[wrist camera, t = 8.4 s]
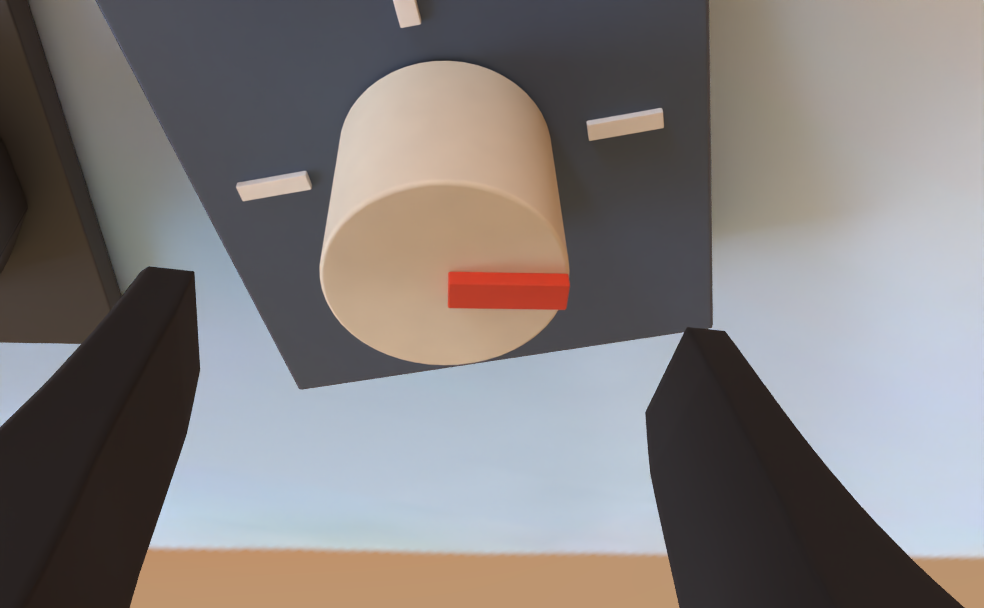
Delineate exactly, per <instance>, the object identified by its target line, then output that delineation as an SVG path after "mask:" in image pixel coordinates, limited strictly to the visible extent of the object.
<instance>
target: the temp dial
mask: <svg viewBox="0 0 984 608" xmlns="http://www.w3.org/2000/svg"><path fill="white" fill-rule="evenodd" d="M569 271H570V270H569V261H568V253H567V247H566V240H565V233H564V226H563V219H562V213H561V206H560V199H559V192H558V186H557V179H556V172H555V165H554V158H553V152H552V145H551V138H550V134H549V130H548V127H547V124H546V122H545V119H544V117H543V115H542V113H541V112H540V110H539V109H538V107H537V105H536V104H535V103H534V101H533V100H532V99H531V98H530V97H529V96H528V95H527V93H526V92H524V91H523V90H522V89H521V88H520V87H519V86H517V85H516V84H515V83H513V82H512V81H510V80H509V79H507V78H506V77H504V76H502V75H500V74H498V73H496V72H494V71H492V70H490V69H487V68H484V67H481V66H478V65H474V64H470V63H465V62H457V61H430V62H424V63H418V64H414V65H410V66H407V67H404V68H401V69H399V70H396V71H394V72H392V73H390V74H388V75H386V76H385V77H383V78H381V79H379V80H378V81H377V82H375V83H374V84H373V85H371V86H370V87H369V88H368V89H367V90H366V91H365V92H364V93H363V94H362V95H361V96H360V97H359V98H358V99H357V100H356V102H355V103H354V105H353V106H352V107H351V109H350V111H349V113H348V115H347V117H346V119H345V121H344V124H343V127H342V130H341V136H340V142H339V148H338V154H337V160H336V167H335V173H334V179H333V185H332V191H331V198H330V204H329V210H328V216H327V222H326V228H325V235H324V241H323V247H322V253H321V259H320V282H321V287H322V291H323V294H324V296H325V299H326V301H327V304H328V305H329V307H330V309H331V310H332V312H333V314H334V315H335V317H336V318H337V319H338V320H339V322H340V323H341V324H342V325H343V326H344V327H345V328H346V329H347V330H348V331H349V332H350V333H351V334H352V335H354V336H355V337H356V338H358V339H359V340H360V341H362V342H363V343H365V344H367V345H369V346H370V347H372V348H374V349H376V350H378V351H380V352H382V353H385V354H387V355H390V356H393V357H396V358H399V359H402V360H406V361H411V362H415V363H422V364H430V365H460V364H468V363H475V362H479V361H484V360H488V359H491V358H494V357H498V356H501V355H503V354H505V353H508V352H510V351H512V350H514V349H516V348H518V347H520V346H522V345H523V344H525V343H527V342H528V341H529V340H531V339H532V338H534V337H535V336H536V335H537V334H539V333H540V332H541V331H542V330H543V329H544V328H545V327H546V326H547V325H548V324H549V322H550V321H551V320H552V319H553V318H554V316H555V315H556V313H557V311H558V310H566V308H567V302H568V296H569V289H570V281H569Z"/></svg>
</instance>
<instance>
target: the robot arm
mask: <svg viewBox="0 0 984 608" xmlns="http://www.w3.org/2000/svg"><path fill="white" fill-rule="evenodd" d="M199 373H200V360H199V343H198V326H197V309H196V292H195V276H194V271H185V270H176V269H167V268H158V267H150V266H149V267H147V268H145V269H144V270H142V271H141V272H140V273H139V275H138V276H137V277H136V279H135V280H134V281H133V283H132V284H131V285H130V286H129V288H128V289H127V290H126V292H125V293H124V294H123V295H122V297H121V298H120V299H119V300H118V302H117V303H116V304H115V305H114V307H113V308H112V309H111V310H110V312H109V313H108V314H107V315H106V316H105V318H104V319H103V320H102V321H101V322H100V323H99V325H98V326H97V327H96V328H95V329H94V330H93V332H92V333H91V334H90V335H89V336H88V337H87V339H86V340H85V341H84V342H83V343H82V344H81V345H80V346H79V347H78V348H77V349H76V351H75V352H74V353H73V354H72V355H71V356H70V357H69V358H68V359H67V360H66V361H65V363H64V364H63V365H62V366H61V367H60V368H59V369H58V370H57V371H56V372H55V373H54V375H53V376H52V377H51V378H50V379H49V380H48V381H47V382H46V383H45V384H44V385H43V386H42V387H41V388H40V389H39V390H38V391H37V392H36V393H35V394H34V395H33V396H32V397H31V398H30V399H29V400H28V401H27V402H26V403H25V404H24V405H22V406H21V407H20V408H19V409H18V410H17V411H16V412H15V413H14V414H13V415H12V416H11V417H10V418H9V419H8V420H7V421H6V422H5V423H4V424H3V425H2V426H1V427H0V608H130V604H131V600H132V597H133V594H134V590H135V587H136V584H137V580H138V576H139V573H140V570H141V567H142V564H143V562H144V559H145V555H146V553H147V550H148V547H149V544H150V541H151V538H152V535H153V532H154V529H155V526H156V523H157V521H158V518H159V515H160V512H161V509H162V506H163V503H164V500H165V497H166V494H167V491H168V488H169V485H170V482H171V479H172V476H173V474H174V471H175V468H176V465H177V462H178V459H179V456H180V453H181V450H182V447H183V444H184V441H185V437H186V434H187V430H188V425H189V421H190V416H191V412H192V407H193V402H194V397H195V392H196V387H197V382H198V377H199ZM645 414H646V428H647V443H648V454H649V464H650V474H651V479H652V484H653V489H654V493H655V498H656V503H657V508H658V512H659V517H660V522H661V526H662V531H663V535H664V540H665V544H666V549H667V553H668V558H669V562H670V567H671V571H672V576H673V580H674V584H675V589H676V594H677V598H678V603H679V607H680V608H964V607H963V606H962V605H961V604H960V603H959V602H957V601H956V600H955V599H954V598H953V597H952V596H951V595H950V594H948V593H947V592H946V591H945V590H944V589H943V588H942V587H941V586H940V585H938V584H937V583H936V582H935V581H934V580H933V579H932V578H931V577H930V576H929V575H927V573H926V572H924V570H922V569H921V568H920V567H919V566H918V565H917V564H916V563H915V562H914V561H913V560H912V559H911V558H910V557H909V556H908V555H907V554H906V553H905V552H904V551H903V550H902V549H901V548H900V547H899V546H898V545H897V544H896V543H895V542H894V541H893V540H892V539H891V538H890V536H889V535H888V534H887V533H886V532H885V531H884V530H883V529H882V528H881V527H880V526H879V525H878V524H877V523H876V522H875V521H874V520H873V519H872V518H871V517H870V516H869V514H868V513H867V512H866V511H865V510H864V509H863V508H862V507H861V506H860V505H859V503H858V502H857V501H856V500H855V499H854V498H853V496H852V495H851V494H850V493H849V492H848V491H847V489H846V488H845V487H844V486H843V485H842V484H841V482H840V481H839V480H838V479H837V478H836V477H835V476H834V474H833V473H832V472H831V471H830V470H829V468H828V467H827V466H826V465H825V463H824V462H823V461H822V460H821V459H820V457H819V456H818V455H817V454H816V452H815V451H814V450H813V449H812V447H811V446H810V445H809V444H808V442H807V441H806V440H805V438H804V437H803V436H802V435H801V433H800V432H799V431H798V429H797V428H796V427H795V425H794V424H793V423H792V421H791V420H790V419H789V417H788V416H787V415H786V413H785V412H784V411H783V409H782V408H781V407H780V405H779V404H778V403H777V401H776V400H775V399H774V397H773V396H772V395H771V393H770V392H769V390H768V389H767V388H766V386H765V385H764V384H763V382H762V381H761V379H760V378H759V377H758V375H757V374H756V373H755V371H754V370H753V368H752V367H751V366H750V364H749V363H748V361H747V360H746V359H745V357H744V356H743V355H742V353H741V352H740V350H739V349H738V348H737V346H736V345H735V344H734V342H733V341H732V340H731V338H730V337H729V336H728V334H727V333H726V332H725V331H719V330H710V329H701V328H692V327H687V328H686V330H685V332H684V334H683V336H682V338H681V340H680V342H679V344H678V346H677V348H676V351H675V353H674V355H673V357H672V359H671V361H670V363H669V365H668V367H667V369H666V371H665V373H664V375H663V377H662V379H661V381H660V383H659V385H658V387H657V390H656V392H655V394H654V396H653V398H652V400H651V402H650V404H649V406H648V408H647V410H646V412H645Z"/></svg>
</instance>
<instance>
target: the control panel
mask: <svg viewBox="0 0 984 608" xmlns="http://www.w3.org/2000/svg"><path fill="white" fill-rule="evenodd" d="M96 2H97V4H98V6H99V8H100V10H101V12H102V14H103V15H104V17H105V19H106V21H107V23H108V25H109V27H110V29H111V31H112V33H113V35H114V36H115V38H116V40H117V42H118V44H119V46H120V48H121V50H122V52H123V54H124V56H125V57H126V59H127V61H128V63H129V65H130V67H131V69H132V71H133V73H134V75H135V77H136V78H137V80H138V82H139V84H140V86H141V88H142V90H143V92H144V94H145V96H146V98H147V99H148V101H149V103H150V105H151V107H152V109H153V111H154V113H155V115H156V117H157V119H158V120H159V122H160V124H161V126H162V128H163V130H164V132H165V134H166V136H167V138H168V140H169V141H170V143H171V145H172V147H173V149H174V151H175V153H176V155H177V157H178V159H179V161H180V162H181V164H182V166H183V168H184V170H185V172H186V174H187V176H188V178H189V180H190V182H191V183H192V185H193V187H194V189H195V191H196V193H197V195H198V197H199V199H200V201H201V203H202V204H203V206H204V208H205V210H206V212H207V214H208V216H209V218H210V220H211V222H212V224H213V225H214V227H215V229H216V231H217V233H218V235H219V237H220V239H221V241H222V243H223V245H224V246H225V248H226V250H227V252H228V254H229V256H230V258H231V260H232V262H233V264H234V266H235V267H236V269H237V271H238V273H239V275H240V277H241V279H242V281H243V283H244V285H245V287H246V289H247V290H248V292H249V294H250V296H251V298H252V300H253V302H254V304H255V306H256V308H257V310H258V311H259V313H260V315H261V317H262V319H263V321H264V323H265V325H266V327H267V329H268V331H269V332H270V334H271V336H272V338H273V340H274V342H275V344H276V346H277V348H278V350H279V352H280V353H281V355H282V357H283V359H284V361H285V363H286V365H287V367H288V369H289V371H290V373H291V374H292V376H293V378H294V380H295V382H296V384H297V386H298V388H299V389H308V388H315V387H322V386H328V385H335V384H342V383H348V382H355V381H362V380H368V379H375V378H382V377H388V376H395V375H402V374H408V373H415V372H422V371H428V370H435V369H442V368H448V367H455V366H462V365H468V364H475V363H482V362H488V361H495V360H502V359H508V358H515V357H522V356H528V355H535V354H542V353H548V352H555V351H562V350H568V349H575V348H581V347H588V346H595V345H601V344H608V343H615V342H621V341H628V340H635V339H641V338H648V337H655V336H661V335H668V334H675V333H681V332H685V330H686V328H687V327H692V328H701V329H708V328H711V327H712V325H713V300H712V216H711V133H710V49H709V0H96ZM430 61H457V62H465V63H470V64H474V65H478V66H481V67H484V68H487V69H490V70H492V71H494V72H496V73H498V74H500V75H502V76H504V77H506V78H507V79H509V80H510V81H512V82H513V83H515V84H516V85H517V86H519V87H520V88H521V89H522V90H523V91H524V92H526V93H527V95H528V96H529V97H530V98H531V99H532V100H533V101H534V103H535V104H536V105H537V107H538V109H539V110H540V112H541V113H542V115H543V117H544V119H545V122H546V124H547V127H548V130H549V134H550V138H551V145H552V152H553V158H554V165H555V172H556V179H557V186H558V192H559V199H560V206H561V213H562V219H563V226H564V233H565V240H566V247H567V253H568V261H569V270H570V271H569V281H570V289H569V296H568V302H567V308H566V310H558V311H557V313H556V315H555V316H554V318H553V319H552V320H551V321H550V322H549V324H548V325H547V326H546V327H545V328H544V329H543V330H542V331H541V332H540V333H539V334H537V335H536V336H535V337H534V338H532V339H531V340H529V341H528V342H527V343H525V344H523V345H522V346H520V347H518V348H516V349H514V350H512V351H510V352H508V353H505V354H503V355H501V356H498V357H494V358H491V359H488V360H484V361H479V362H475V363H468V364H460V365H430V364H422V363H415V362H411V361H406V360H402V359H399V358H396V357H393V356H390V355H387V354H385V353H382V352H380V351H378V350H376V349H374V348H372V347H370V346H369V345H367V344H365V343H363V342H362V341H360V340H359V339H358V338H356V337H355V336H354V335H352V334H351V333H350V332H349V331H348V330H347V329H346V328H345V327H344V326H343V325H342V324H341V323H340V322H339V320H338V319H337V318H336V317H335V315H334V314H333V312H332V310H331V309H330V307H329V305H328V304H327V301H326V299H325V296H324V294H323V291H322V287H321V282H320V259H321V253H322V247H323V241H324V235H325V228H326V222H327V216H328V210H329V204H330V198H331V191H332V185H333V179H334V173H335V167H336V160H337V154H338V148H339V142H340V136H341V130H342V127H343V124H344V121H345V119H346V117H347V115H348V113H349V111H350V109H351V107H352V106H353V105H354V103H355V102H356V100H357V99H358V98H359V97H360V96H361V95H362V94H363V93H364V92H365V91H366V90H367V89H368V88H369V87H370V86H371V85H373V84H374V83H375V82H377V81H378V80H379V79H381V78H383V77H385V76H386V75H388V74H390V73H392V72H394V71H396V70H399V69H401V68H404V67H407V66H410V65H414V64H418V63H424V62H430Z"/></svg>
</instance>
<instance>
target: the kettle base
mask: <svg viewBox="0 0 984 608" xmlns="http://www.w3.org/2000/svg"><path fill="white" fill-rule="evenodd" d="M120 298H121V294H120V290H119V287H118V284H117V281H116V278H115V275H114V272H113V268H112V265H111V262H110V259H109V256H108V253H107V250H106V247H105V243H104V240H103V237H102V234H101V231H100V228H99V225H98V221H97V218H96V215H95V212H94V209H93V206H92V203H91V200H90V196H89V193H88V190H87V187H86V184H85V181H84V178H83V174H82V171H81V168H80V165H79V162H78V159H77V156H76V152H75V149H74V146H73V143H72V140H71V137H70V134H69V131H68V127H67V124H66V121H65V118H64V115H63V112H62V109H61V105H60V102H59V99H58V96H57V93H56V90H55V87H54V84H53V80H52V77H51V74H50V71H49V68H48V65H47V62H46V58H45V55H44V52H43V49H42V46H41V43H40V40H39V37H38V33H37V30H36V27H35V24H34V21H33V18H32V15H31V11H30V8H29V5H28V2H27V0H0V342H8V343H67V344H82V343H83V342H84V341H85V340H86V339H87V337H88V336H89V335H90V334H91V333H92V332H93V330H94V329H95V328H96V327H97V326H98V325H99V323H100V322H101V321H102V320H103V319H104V318H105V316H106V315H107V314H108V313H109V312H110V310H111V309H112V308H113V307H114V305H115V304H116V303H117V302H118V300H119V299H120Z"/></svg>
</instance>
